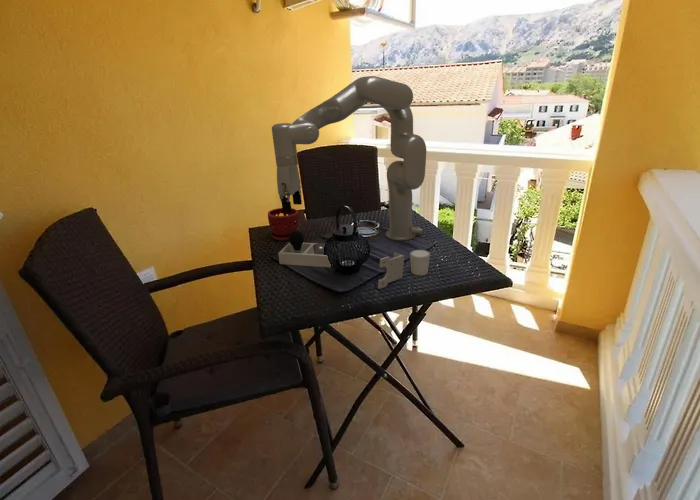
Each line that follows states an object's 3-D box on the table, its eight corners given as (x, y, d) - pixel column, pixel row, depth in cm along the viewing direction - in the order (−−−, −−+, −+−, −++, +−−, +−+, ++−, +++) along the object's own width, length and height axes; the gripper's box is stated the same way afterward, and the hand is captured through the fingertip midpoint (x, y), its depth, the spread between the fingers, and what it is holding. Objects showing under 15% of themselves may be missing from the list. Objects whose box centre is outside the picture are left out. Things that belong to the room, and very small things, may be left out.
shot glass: (406, 269, 131) (406, 251, 128) (423, 265, 133) (423, 247, 130) (415, 278, 125) (416, 259, 122) (433, 273, 127) (434, 255, 124)
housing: (338, 255, 145) (337, 240, 143) (330, 267, 136) (328, 252, 133) (291, 252, 151) (289, 238, 148) (279, 263, 141) (277, 249, 138)
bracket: (392, 276, 129) (394, 249, 126) (401, 280, 126) (404, 252, 123) (369, 284, 122) (371, 255, 119) (379, 288, 119) (381, 259, 116)
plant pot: (280, 245, 158) (276, 218, 153) (265, 237, 167) (261, 211, 163) (306, 236, 165) (303, 210, 161) (290, 229, 175) (287, 205, 170)
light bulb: (294, 252, 147) (291, 228, 143) (308, 252, 146) (305, 228, 142) (288, 258, 142) (285, 233, 138) (302, 259, 141) (299, 234, 137)
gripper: (286, 156, 138) (292, 201, 145) (265, 166, 123) (273, 215, 130) (305, 156, 136) (310, 201, 143) (286, 165, 121) (293, 216, 128)
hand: (292, 208), depth 136 cm, fingers open, 9 cm apart
